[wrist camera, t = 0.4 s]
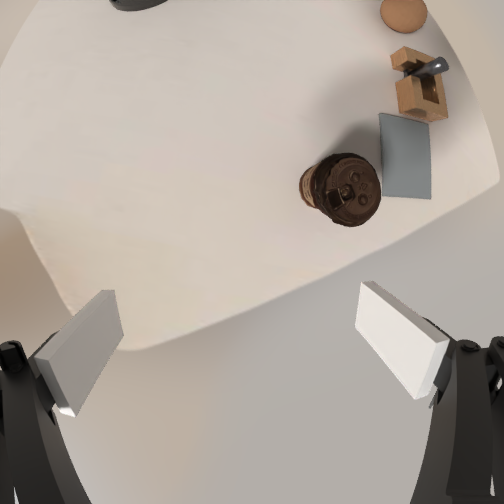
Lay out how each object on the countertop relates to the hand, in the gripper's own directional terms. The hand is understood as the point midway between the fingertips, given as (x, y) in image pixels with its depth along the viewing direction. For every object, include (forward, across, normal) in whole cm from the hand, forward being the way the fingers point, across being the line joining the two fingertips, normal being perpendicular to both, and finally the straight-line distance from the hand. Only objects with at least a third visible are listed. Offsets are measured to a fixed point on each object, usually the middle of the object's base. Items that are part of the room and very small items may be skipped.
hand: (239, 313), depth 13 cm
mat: (+27, +30, +12) cm, 42 cm away
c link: (+27, +32, +26) cm, 50 cm away
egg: (+27, +30, +41) cm, 58 cm away
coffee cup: (+27, +13, +6) cm, 31 cm away
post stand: (+27, +32, +28) cm, 51 cm away
